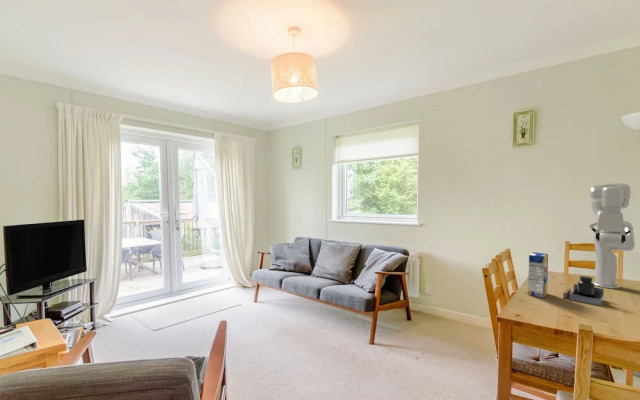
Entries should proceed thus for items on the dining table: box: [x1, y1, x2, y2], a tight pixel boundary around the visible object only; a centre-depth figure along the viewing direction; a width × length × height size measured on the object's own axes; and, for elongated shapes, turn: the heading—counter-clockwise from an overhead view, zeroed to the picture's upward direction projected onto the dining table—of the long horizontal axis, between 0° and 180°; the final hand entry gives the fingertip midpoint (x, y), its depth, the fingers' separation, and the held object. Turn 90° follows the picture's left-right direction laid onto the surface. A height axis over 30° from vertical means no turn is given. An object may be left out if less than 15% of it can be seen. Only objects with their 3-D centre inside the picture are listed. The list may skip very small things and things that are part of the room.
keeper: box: [568, 283, 605, 307], centre depth 163 cm, size 12×12×6 cm
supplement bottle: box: [576, 275, 596, 298], centre depth 163 cm, size 7×7×12 cm
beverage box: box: [527, 251, 549, 299], centre depth 172 cm, size 7×11×22 cm, turn 135°
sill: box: [562, 288, 572, 300], centre depth 169 cm, size 12×1×3 cm, turn 132°
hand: (610, 241), depth 169 cm, fingers open, 9 cm apart
